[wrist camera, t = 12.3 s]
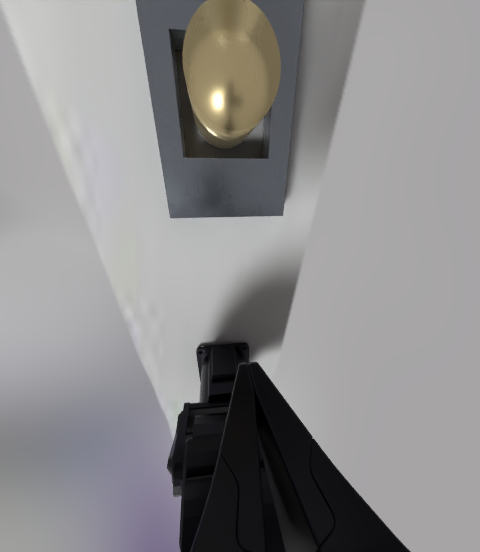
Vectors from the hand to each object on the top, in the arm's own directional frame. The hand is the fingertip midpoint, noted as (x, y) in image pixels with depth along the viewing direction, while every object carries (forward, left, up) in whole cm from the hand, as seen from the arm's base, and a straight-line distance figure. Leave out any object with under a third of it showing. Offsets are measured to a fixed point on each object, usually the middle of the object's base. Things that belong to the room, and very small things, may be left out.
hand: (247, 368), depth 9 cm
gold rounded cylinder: (+12, 0, -12) cm, 17 cm away
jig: (+12, 0, -12) cm, 17 cm away
